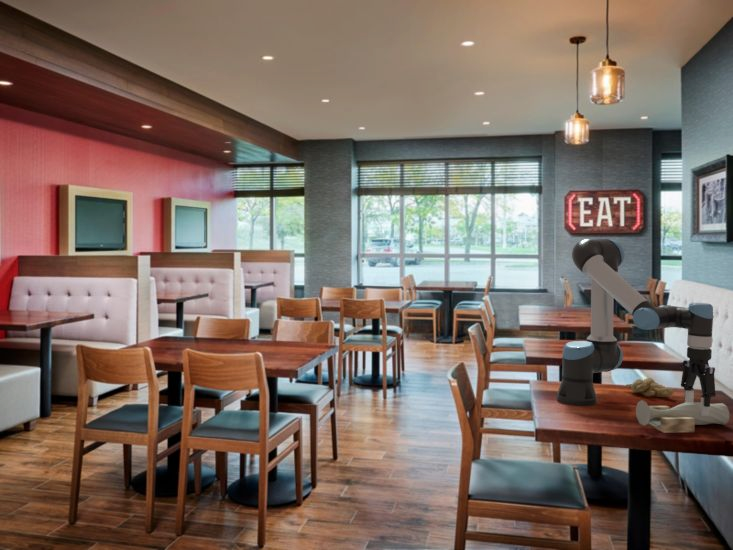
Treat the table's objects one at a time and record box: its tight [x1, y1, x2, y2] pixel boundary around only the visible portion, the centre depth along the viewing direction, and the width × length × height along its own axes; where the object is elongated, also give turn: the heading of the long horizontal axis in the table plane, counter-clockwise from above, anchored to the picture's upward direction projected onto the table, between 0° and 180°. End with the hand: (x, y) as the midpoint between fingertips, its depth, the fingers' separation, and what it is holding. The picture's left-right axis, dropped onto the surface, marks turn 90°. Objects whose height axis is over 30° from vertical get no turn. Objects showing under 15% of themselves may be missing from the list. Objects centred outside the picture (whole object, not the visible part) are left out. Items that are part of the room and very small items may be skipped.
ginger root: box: [625, 377, 674, 398], centre depth 255 cm, size 16×16×8 cm
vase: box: [635, 399, 731, 427], centre depth 212 cm, size 9×8×30 cm
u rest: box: [647, 405, 696, 434], centre depth 212 cm, size 11×16×5 cm
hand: (696, 411), depth 213 cm, fingers closed on vase, 8 cm apart
